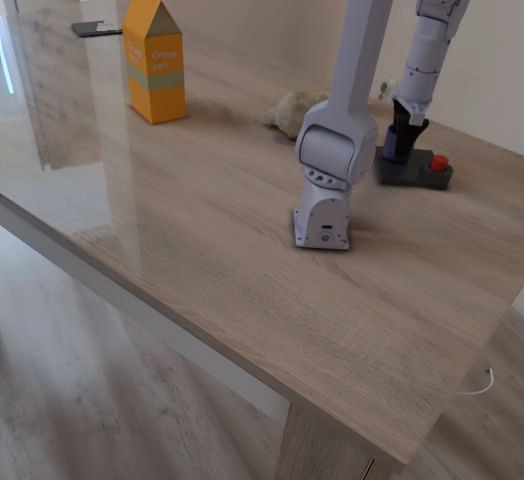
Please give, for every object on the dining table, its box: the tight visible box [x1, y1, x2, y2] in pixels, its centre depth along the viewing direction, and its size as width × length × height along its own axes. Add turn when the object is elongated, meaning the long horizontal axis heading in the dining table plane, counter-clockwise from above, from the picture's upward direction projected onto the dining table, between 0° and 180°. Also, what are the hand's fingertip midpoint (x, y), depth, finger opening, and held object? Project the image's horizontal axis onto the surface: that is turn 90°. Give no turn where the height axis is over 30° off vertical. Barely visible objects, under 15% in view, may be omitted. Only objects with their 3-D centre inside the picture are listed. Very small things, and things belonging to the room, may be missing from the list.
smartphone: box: [70, 19, 123, 37], centre depth 123 cm, size 8×1×15 cm
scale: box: [372, 145, 455, 190], centre depth 88 cm, size 13×13×3 cm
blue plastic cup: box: [381, 123, 418, 162], centre depth 87 cm, size 5×5×4 cm
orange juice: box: [122, 0, 187, 125], centre depth 89 cm, size 8×9×20 cm
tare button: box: [430, 154, 450, 172], centre depth 84 cm, size 3×3×2 cm
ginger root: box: [263, 90, 330, 139], centre depth 93 cm, size 15×7×15 cm
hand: (398, 147), depth 88 cm, fingers closed on blue plastic cup, 5 cm apart
